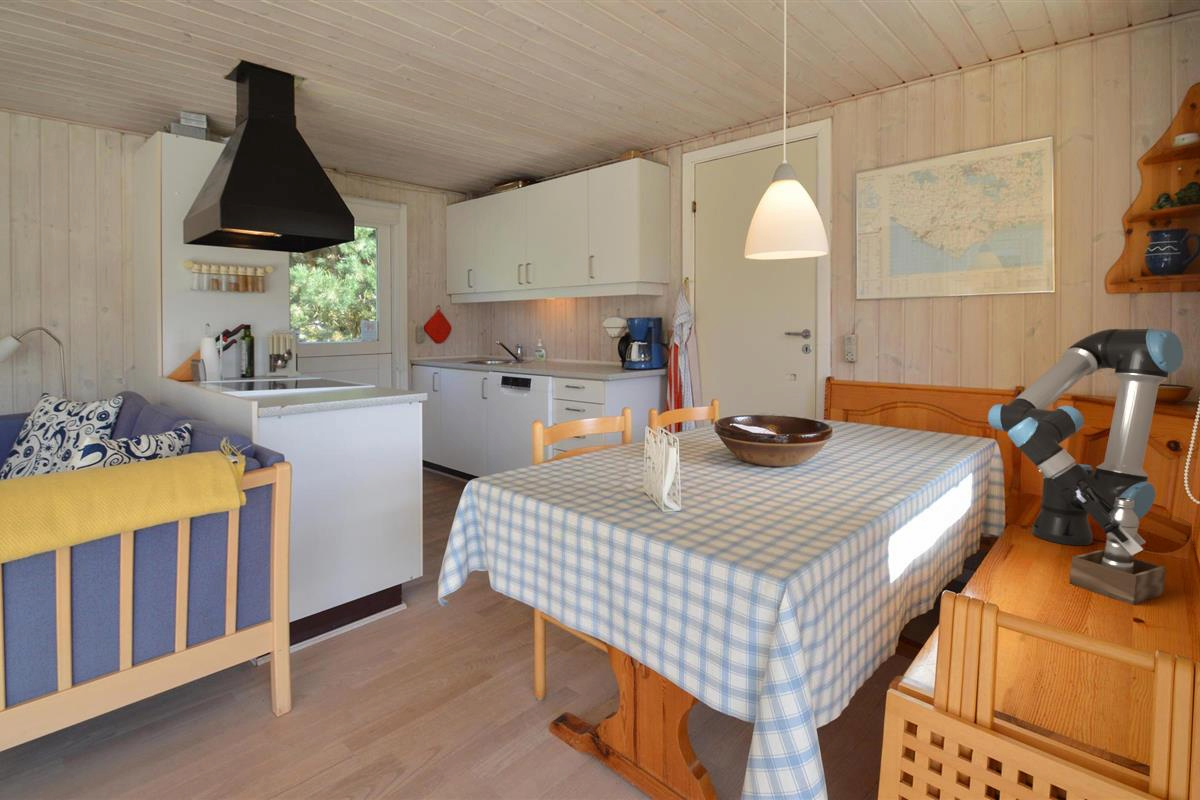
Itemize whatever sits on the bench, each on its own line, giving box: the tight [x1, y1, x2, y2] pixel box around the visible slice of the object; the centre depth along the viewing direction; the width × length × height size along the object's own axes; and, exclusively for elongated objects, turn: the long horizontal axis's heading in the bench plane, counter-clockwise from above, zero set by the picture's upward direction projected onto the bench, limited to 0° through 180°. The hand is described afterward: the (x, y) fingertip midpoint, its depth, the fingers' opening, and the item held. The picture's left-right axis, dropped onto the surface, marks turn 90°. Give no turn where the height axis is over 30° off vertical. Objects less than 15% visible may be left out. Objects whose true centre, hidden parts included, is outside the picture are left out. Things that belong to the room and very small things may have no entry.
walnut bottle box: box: [1068, 549, 1167, 606], centre depth 158 cm, size 14×14×7 cm
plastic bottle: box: [1101, 497, 1140, 574], centre depth 157 cm, size 6×7×20 cm
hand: (1138, 548), depth 155 cm, fingers open, 6 cm apart
